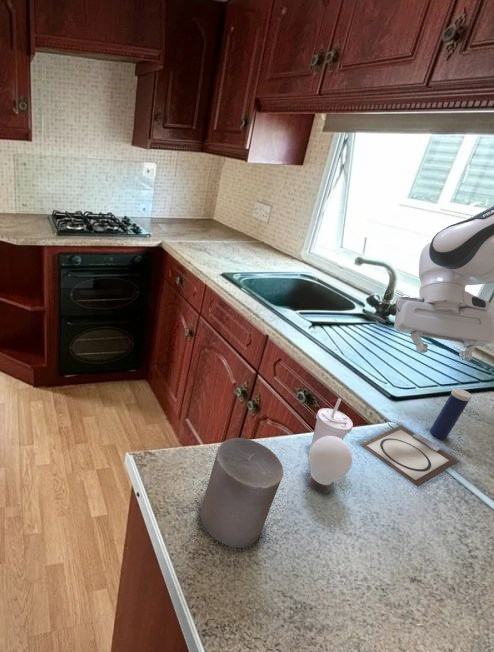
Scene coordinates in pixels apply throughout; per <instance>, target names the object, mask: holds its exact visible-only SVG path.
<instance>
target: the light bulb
mask: <svg viewBox="0 0 494 652" xmlns="http://www.w3.org/2000/svg"><path fill="white" fill-rule="evenodd" d="M310 447H311V446H310ZM352 454H353V453H352V450H351V448H350V446H349V445H348V444H347V442H346V441H344V439H343V440H342V439H340V438H338V437H335V436H325V437H322V438H320V439H318V440H317V441H316V442H315V443H314V444H313V445H312V447H311V449H310V448H309V451H308V456H307V457H308V458H307V461H308V466H309V468H310V474H309V477H308V482H309V485H310V486H311V487H312V488H313V489H314V490H316V491H317V492H320V493H322V494H328V493H330V492H331V490H332V488H333V487H334V483H335V482H336V481H340V480H341V479H343V478H345V477H346V475H347V474H349V471H350V470H351V467H352V464H353V455H352Z"/></svg>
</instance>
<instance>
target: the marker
mask: <svg viewBox="0 0 494 652" xmlns="http://www.w3.org/2000/svg"><path fill="white" fill-rule="evenodd" d="M472 398H473V395H472V393H470V392H469V391H467V390H464V389H462V388H459V387H455V388H453V389H452V390H451V393H450V394H449V396H448V398H447V400H446V401H445V403H444V404H443V406H442V408H441V410H440V411H439V414H438V415H437V417H436V418H435V420H434V422H433V424H432V425H431V427H430V428H429V432H430V434H431V435H432V436H433V437H435V438H436V439H438V440H439V439H440V440H444V439H447V438H448V436H449V435H450V433H451V432H452V430H453V428H454V426H455V425H456V423H457V421H459V418H460V416H461V415H462V413H463V412H464V410H465V408H466V407H467V405H468V404H469V402H470V401H471V399H472Z"/></svg>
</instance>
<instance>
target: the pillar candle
mask: <svg viewBox="0 0 494 652" xmlns="http://www.w3.org/2000/svg"><path fill="white" fill-rule="evenodd" d="M283 477H284V466H283V465H282V462H281V460H280V459H279V457H278V456H277V455H276V453H274V452H273V451H272V450H271V449H270V448H268V447H267V446H265V445H263V444H262V443H260V442H257V441H255V440H252V439H248V438H244V437H233V438H229V439H227V440H224V441H223V442H222V443H221V444H220V445H219V446H218V448H217V451H216V455H215V457H214V462H213V465H212V469H211V472H210V476H209V479H208V484H207V487H206V490H205V493H204V497H203V500H202V503H201V507H200V513H199V514H200V515H199V516H200V520H201V521H200V522H201V523H202V525H203V527H204V528H205V530H206V532H208V534H209V535H210V536H211V537H212V538H213V539H215V540H216V541H218V542H220V543H221V544H222V545H225V546H227V547H231V548H235V549H236V548H237V549H238V548H240V549H243V548H248V547H250V546H252V545H253V544H255V543H256V542H257V540H258V539H259V538H260V537H261V535H262V531H263V528H264V525H265V523H266V520H267V519H268V515H269V513H270V510H271V507H272V504H273V502H274V500H275V497H276V495H277V492H278V490H279V487H280V484H281V481H282V479H283Z"/></svg>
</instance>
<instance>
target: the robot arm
mask: <svg viewBox="0 0 494 652" xmlns="http://www.w3.org/2000/svg"><path fill="white" fill-rule="evenodd" d="M418 262H419V263H418V278H419V281H420V287H419V290H418V297H415V296H410V295H409V296H408V295H402V296H400V297H398V298H397V299H396V301H395V310H396V312H395V316H394V326H393V327H394V329H395V331H396V332H397V333H402V334H408V335H410V339H411V340H412V342H413V344H414V345H415V346H416V347H415V349H416V350H415V351H416V353H419V354H426V353H427V352H428V350H429V349H428V346H429V345H428V344H426V343H424V341H423V339H422V337H425V338H431V339H438V340H443V341H449V342H455V343H459V344H460V343H461V344H463V347H464V348H465V350H464V351H461V352H459V360H460V361H466V362H469V361H472V359H473V352H474V351H475V350H476V348H477V347H478V346H479V347H483V346H486V345H488V344H491V343H493V341H494V319H493V316H492V315H491V314H490V312H488V311H489V310H490V309H491V303H490V302H489V301H488V300H486V299H483V298H481V297H479V296H476V295H474V294H472V293H470V292H468V291H466V286H476V285H477V286H478V285H484V284H490V283H494V205H492V206H490V207H488V208H486V209H484V210H482V211H480V212H478V213H476V214H474V215H471V216H470V217H467V218H464V219H461V220H458V221H455V222H452V223H450V224H448V225H446V226H444V227H443V228H441V229H440V230H438V231H437V233H436V234H435V235H434V236H433V237H432V239H431V241H430V242H428V243H427V244H425V245H424V247H423V248H422V250H421V252H420V256H419V261H418Z"/></svg>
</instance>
